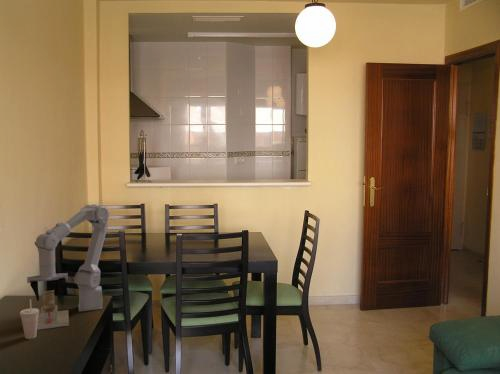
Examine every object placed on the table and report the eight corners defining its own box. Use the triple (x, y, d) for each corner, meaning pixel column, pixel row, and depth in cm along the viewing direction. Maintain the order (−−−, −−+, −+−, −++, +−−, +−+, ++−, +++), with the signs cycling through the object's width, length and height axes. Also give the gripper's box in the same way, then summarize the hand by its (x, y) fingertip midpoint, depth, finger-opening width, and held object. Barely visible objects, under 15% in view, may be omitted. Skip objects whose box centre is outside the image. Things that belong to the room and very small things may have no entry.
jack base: (68, 313, 191) (68, 299, 190) (68, 325, 178) (68, 310, 177) (31, 318, 185) (30, 303, 185) (28, 331, 172) (28, 315, 172)
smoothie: (32, 341, 163) (30, 302, 162) (16, 339, 165) (14, 301, 163) (44, 334, 170) (42, 297, 168) (28, 332, 171) (27, 296, 170)
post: (55, 309, 184) (54, 290, 183) (54, 312, 180) (54, 293, 179) (43, 310, 182) (42, 291, 182) (43, 314, 178) (42, 294, 178)
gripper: (25, 269, 173) (27, 304, 174) (67, 265, 178) (68, 299, 180) (27, 264, 180) (28, 298, 181) (67, 261, 185) (68, 294, 186)
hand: (48, 298), depth 181 cm, fingers open, 7 cm apart
